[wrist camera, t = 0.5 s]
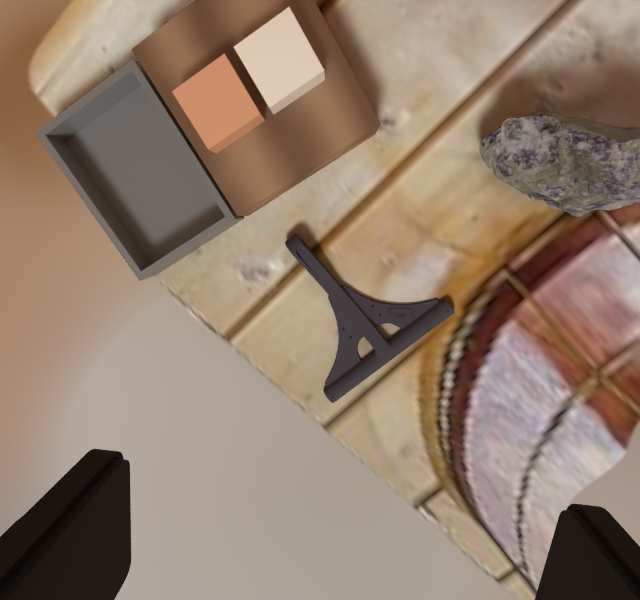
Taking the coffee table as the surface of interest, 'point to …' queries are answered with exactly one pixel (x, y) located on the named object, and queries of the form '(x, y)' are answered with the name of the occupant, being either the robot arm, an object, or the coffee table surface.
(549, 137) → the mineral rock
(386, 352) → the bracket
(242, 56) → the cream tile
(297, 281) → the coffee table surface
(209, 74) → the terracotta tile
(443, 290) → the coffee table surface
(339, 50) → the tan square panel
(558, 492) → the coffee table surface
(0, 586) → the robot arm
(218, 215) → the box
